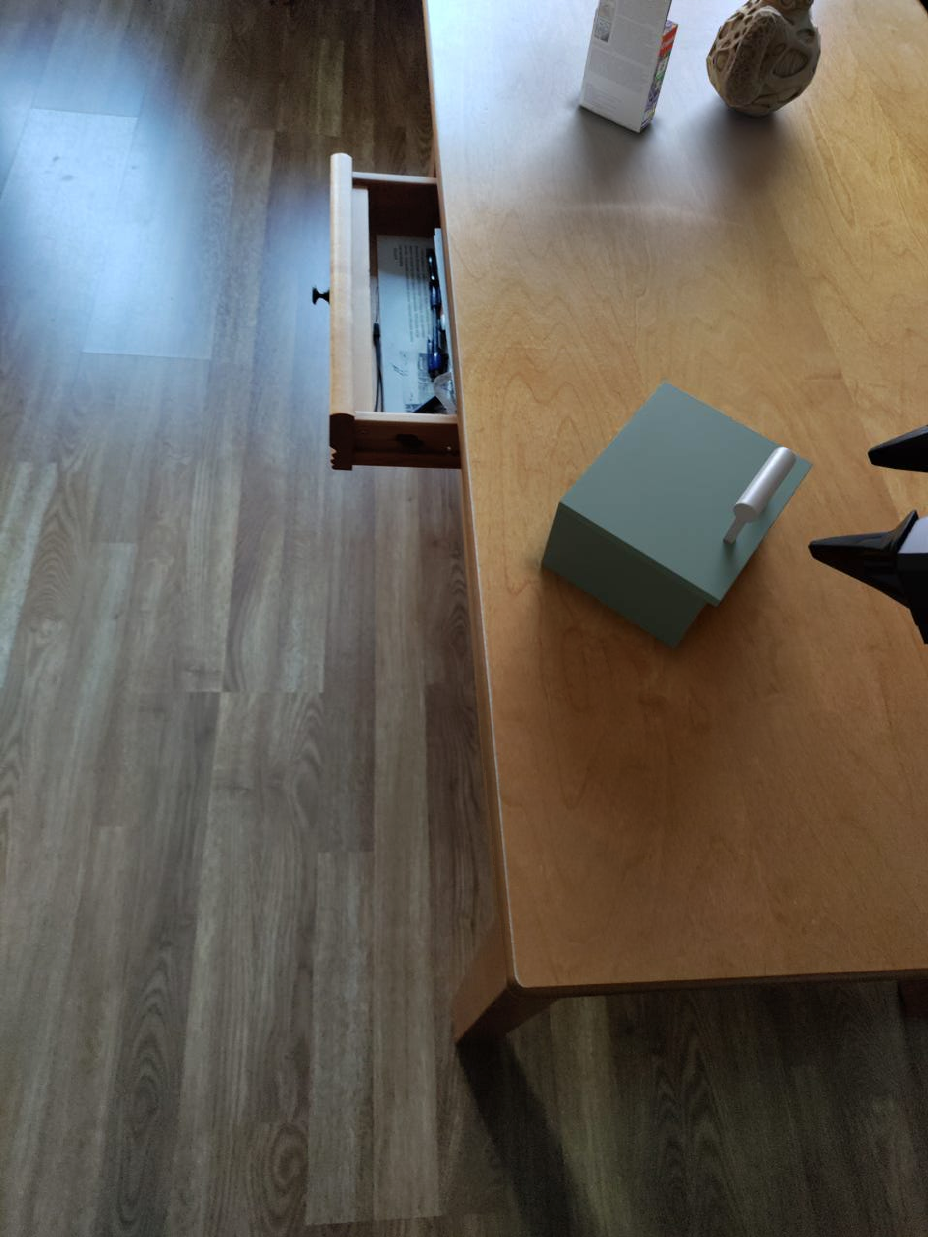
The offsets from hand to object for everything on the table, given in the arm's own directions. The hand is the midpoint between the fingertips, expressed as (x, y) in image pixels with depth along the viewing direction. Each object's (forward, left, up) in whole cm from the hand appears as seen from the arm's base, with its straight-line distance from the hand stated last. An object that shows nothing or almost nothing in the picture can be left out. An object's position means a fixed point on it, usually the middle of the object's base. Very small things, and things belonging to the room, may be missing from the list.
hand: (841, 501), depth 53 cm
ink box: (+9, -62, -13) cm, 64 cm away
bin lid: (+7, -5, -6) cm, 11 cm away
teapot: (-6, -66, -13) cm, 68 cm away
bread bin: (+8, -5, -13) cm, 16 cm away
